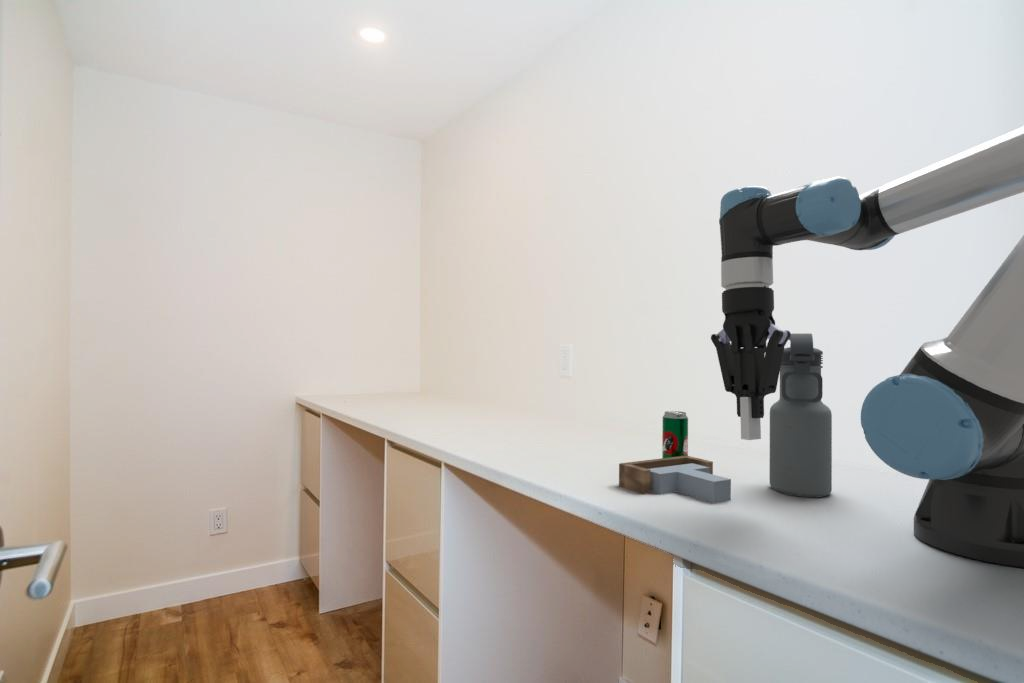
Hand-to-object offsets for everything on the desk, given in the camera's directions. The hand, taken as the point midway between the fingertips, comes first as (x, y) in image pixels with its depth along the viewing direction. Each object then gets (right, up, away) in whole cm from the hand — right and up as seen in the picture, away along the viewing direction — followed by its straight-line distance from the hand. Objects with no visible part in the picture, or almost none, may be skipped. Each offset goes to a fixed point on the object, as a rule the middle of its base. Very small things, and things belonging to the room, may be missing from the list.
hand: (750, 438), depth 84 cm
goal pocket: (-9, -11, +16) cm, 21 cm away
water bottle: (+14, -12, +12) cm, 22 cm away
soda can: (-4, -12, +27) cm, 30 cm away
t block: (-6, -11, +10) cm, 16 cm away
